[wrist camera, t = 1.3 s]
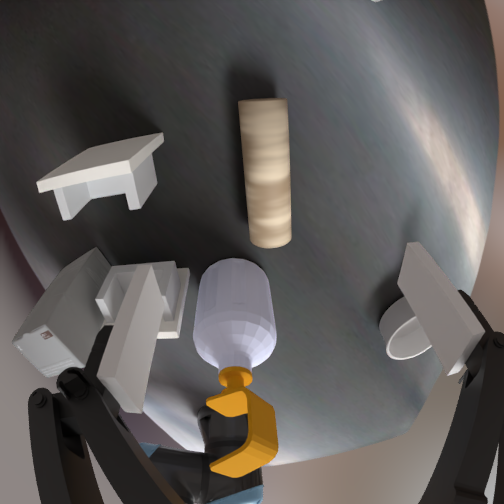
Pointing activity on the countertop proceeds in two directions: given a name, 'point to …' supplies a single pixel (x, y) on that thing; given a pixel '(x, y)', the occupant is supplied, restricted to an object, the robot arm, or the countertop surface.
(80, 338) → the skincare box
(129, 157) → the bracket
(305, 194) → the countertop surface
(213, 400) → the soap bottle
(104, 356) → the robot arm
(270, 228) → the rail
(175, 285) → the bracket
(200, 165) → the countertop surface
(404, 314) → the saucepan
